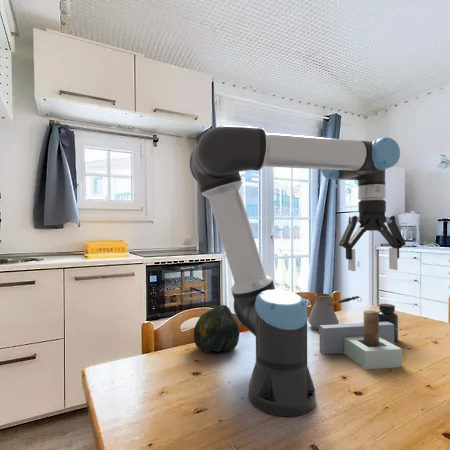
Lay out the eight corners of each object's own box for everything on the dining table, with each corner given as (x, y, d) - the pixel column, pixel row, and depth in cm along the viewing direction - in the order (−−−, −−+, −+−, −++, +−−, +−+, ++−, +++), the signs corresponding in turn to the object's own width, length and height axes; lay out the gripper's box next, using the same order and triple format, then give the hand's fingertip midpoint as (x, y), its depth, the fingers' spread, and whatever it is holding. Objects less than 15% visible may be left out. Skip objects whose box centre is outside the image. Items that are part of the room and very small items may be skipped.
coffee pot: (301, 326, 121) (301, 289, 121) (320, 321, 128) (319, 285, 128) (351, 342, 104) (351, 298, 104) (369, 335, 110) (369, 294, 111)
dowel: (369, 356, 88) (368, 314, 88) (361, 350, 92) (360, 310, 92) (382, 355, 88) (381, 313, 89) (373, 349, 92) (372, 310, 92)
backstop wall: (324, 354, 94) (323, 328, 94) (319, 350, 97) (319, 325, 97) (394, 349, 98) (394, 324, 98) (388, 346, 101) (387, 321, 101)
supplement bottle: (401, 343, 103) (401, 307, 103) (379, 342, 104) (379, 306, 104) (394, 336, 110) (394, 303, 110) (374, 335, 111) (373, 302, 111)
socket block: (365, 369, 84) (365, 351, 84) (344, 353, 95) (344, 337, 95) (402, 366, 85) (401, 348, 85) (376, 351, 96) (376, 335, 96)
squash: (181, 329, 102) (199, 300, 95) (215, 322, 111) (235, 295, 104) (198, 369, 93) (221, 340, 86) (234, 357, 103) (257, 331, 96)
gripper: (339, 198, 87) (340, 272, 87) (418, 199, 91) (419, 270, 90) (327, 201, 95) (328, 269, 95) (400, 201, 98) (401, 267, 98)
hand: (372, 270), depth 92 cm, fingers open, 13 cm apart
